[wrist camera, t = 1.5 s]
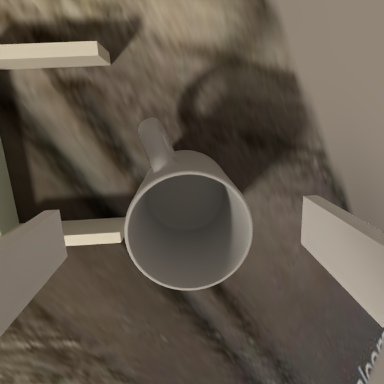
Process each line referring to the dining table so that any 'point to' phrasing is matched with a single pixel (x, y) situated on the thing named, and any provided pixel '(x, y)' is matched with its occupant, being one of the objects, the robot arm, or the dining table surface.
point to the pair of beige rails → (3, 196)
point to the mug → (185, 217)
